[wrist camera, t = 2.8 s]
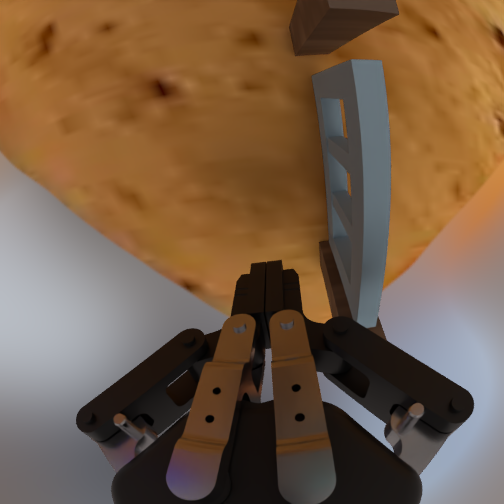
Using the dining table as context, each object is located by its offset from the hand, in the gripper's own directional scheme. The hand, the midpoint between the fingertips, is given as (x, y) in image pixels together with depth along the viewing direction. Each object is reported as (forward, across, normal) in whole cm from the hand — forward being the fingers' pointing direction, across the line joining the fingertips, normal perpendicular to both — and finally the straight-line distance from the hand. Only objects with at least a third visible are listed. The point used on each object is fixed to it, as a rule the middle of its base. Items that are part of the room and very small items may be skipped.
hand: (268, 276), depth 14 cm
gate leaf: (+8, -5, -3) cm, 10 cm away
